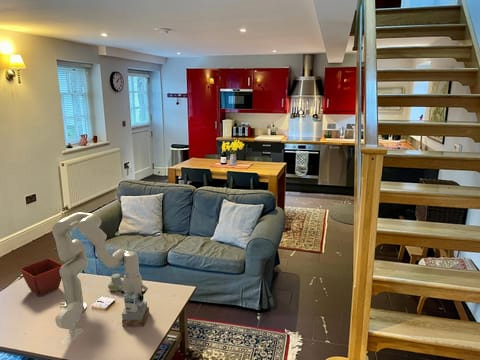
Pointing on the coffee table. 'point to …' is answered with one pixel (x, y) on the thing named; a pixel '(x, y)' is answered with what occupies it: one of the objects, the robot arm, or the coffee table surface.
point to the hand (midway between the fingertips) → (134, 300)
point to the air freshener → (115, 282)
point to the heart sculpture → (70, 320)
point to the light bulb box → (132, 302)
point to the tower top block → (133, 315)
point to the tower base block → (136, 321)
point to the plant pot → (42, 276)
